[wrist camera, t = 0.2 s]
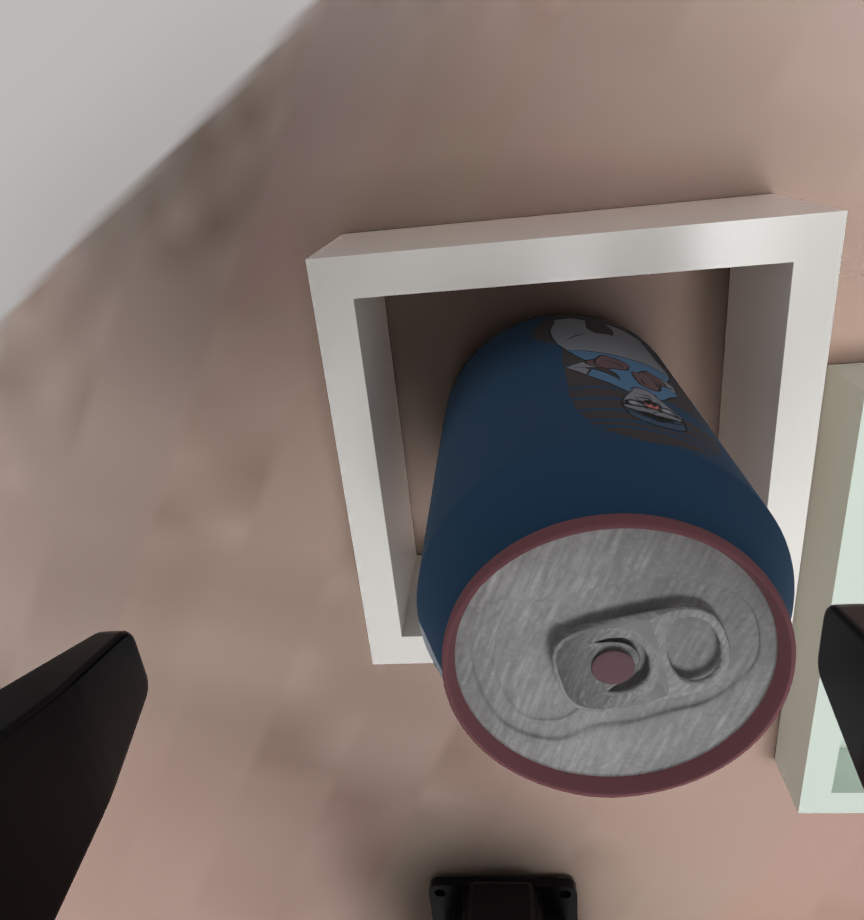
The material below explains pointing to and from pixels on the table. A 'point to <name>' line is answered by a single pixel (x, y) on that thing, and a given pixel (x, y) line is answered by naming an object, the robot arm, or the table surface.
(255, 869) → the table surface
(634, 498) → the soda can
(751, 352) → the pale square open box
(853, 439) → the tray
